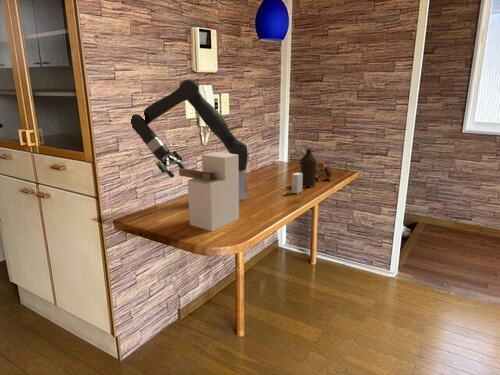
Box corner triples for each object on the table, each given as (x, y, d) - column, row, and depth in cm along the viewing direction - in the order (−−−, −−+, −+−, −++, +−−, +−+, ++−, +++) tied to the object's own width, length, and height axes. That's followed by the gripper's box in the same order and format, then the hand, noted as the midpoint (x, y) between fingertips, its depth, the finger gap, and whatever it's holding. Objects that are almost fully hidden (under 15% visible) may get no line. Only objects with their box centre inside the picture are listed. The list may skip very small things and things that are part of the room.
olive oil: (317, 184, 244) (318, 147, 238) (313, 188, 235) (315, 149, 228) (301, 183, 248) (302, 146, 242) (297, 187, 239) (298, 148, 232)
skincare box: (296, 191, 230) (297, 172, 227) (302, 192, 227) (303, 173, 224) (291, 193, 225) (291, 174, 222) (297, 194, 223) (297, 175, 220)
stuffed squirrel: (311, 178, 262) (311, 160, 259) (330, 177, 263) (331, 159, 260) (314, 181, 252) (315, 162, 249) (334, 181, 254) (336, 162, 250)
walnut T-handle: (186, 173, 180) (185, 167, 179) (217, 179, 169) (216, 173, 168) (176, 176, 175) (176, 169, 175) (208, 182, 164) (208, 175, 163)
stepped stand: (217, 213, 190) (215, 151, 182) (239, 218, 182) (238, 154, 174) (189, 224, 174) (186, 158, 166) (212, 231, 167) (209, 161, 158)
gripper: (152, 150, 180) (173, 176, 182) (170, 139, 191) (190, 163, 192) (145, 157, 185) (166, 182, 187) (163, 146, 195) (183, 170, 197)
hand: (178, 173), depth 190 cm, fingers open, 8 cm apart
